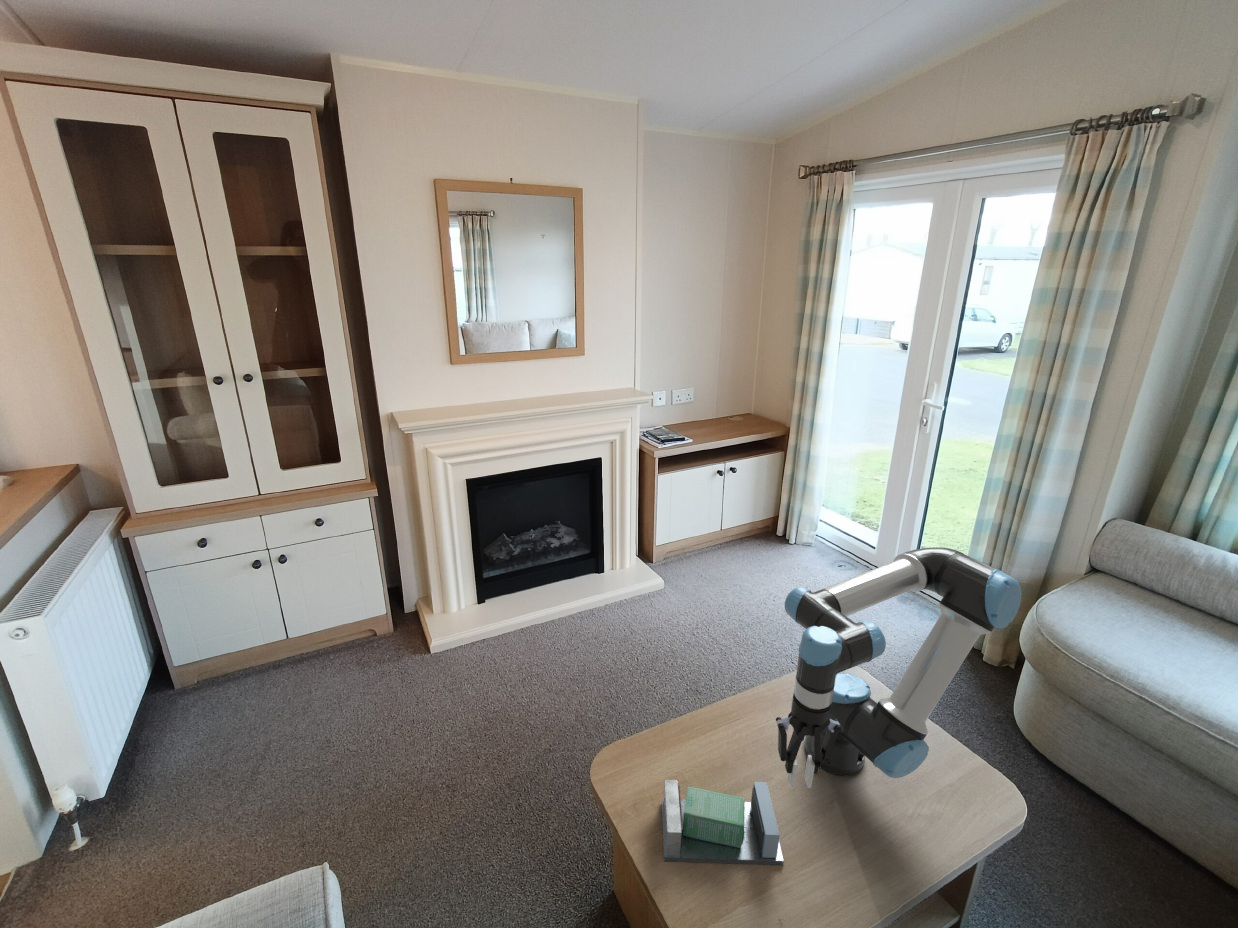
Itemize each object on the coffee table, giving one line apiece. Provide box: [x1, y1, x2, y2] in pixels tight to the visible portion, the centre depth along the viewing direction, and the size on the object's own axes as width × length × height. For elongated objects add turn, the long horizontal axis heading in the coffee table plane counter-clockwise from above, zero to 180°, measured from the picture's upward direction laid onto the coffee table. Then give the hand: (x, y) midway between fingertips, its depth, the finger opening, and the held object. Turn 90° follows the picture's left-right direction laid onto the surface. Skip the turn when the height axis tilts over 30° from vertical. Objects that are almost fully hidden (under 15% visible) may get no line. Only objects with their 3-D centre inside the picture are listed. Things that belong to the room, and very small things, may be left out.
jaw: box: [750, 781, 781, 858], centre depth 129 cm, size 3×13×7 cm, turn 178°
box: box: [683, 786, 746, 848], centre depth 129 cm, size 7×14×8 cm, turn 78°
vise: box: [660, 779, 785, 867], centre depth 129 cm, size 26×14×8 cm, turn 88°
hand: (799, 781), depth 125 cm, fingers open, 3 cm apart
